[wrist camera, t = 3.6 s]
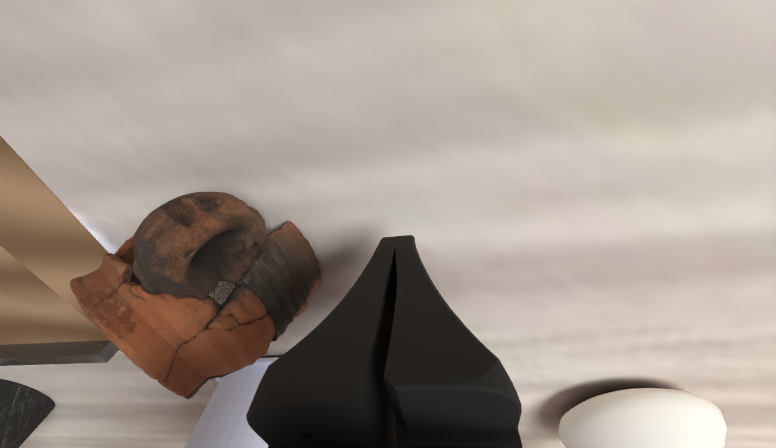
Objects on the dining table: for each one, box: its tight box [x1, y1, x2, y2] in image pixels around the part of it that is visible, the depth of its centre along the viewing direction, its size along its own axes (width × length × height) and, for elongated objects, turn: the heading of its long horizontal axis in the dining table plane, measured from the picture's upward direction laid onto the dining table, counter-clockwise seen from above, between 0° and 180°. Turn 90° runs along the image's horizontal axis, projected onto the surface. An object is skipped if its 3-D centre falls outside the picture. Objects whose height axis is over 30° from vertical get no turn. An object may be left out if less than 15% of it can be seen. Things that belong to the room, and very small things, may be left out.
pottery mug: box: [70, 192, 320, 399], centre depth 14 cm, size 12×10×8 cm
